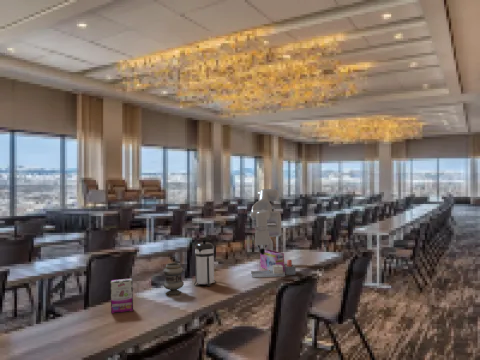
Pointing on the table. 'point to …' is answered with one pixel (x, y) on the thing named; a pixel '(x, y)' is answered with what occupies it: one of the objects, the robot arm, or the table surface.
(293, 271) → the square tube with block
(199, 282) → the coffee press
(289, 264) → the handle peg
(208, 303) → the table surface
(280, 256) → the gum box
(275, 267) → the crate
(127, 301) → the candy bar box
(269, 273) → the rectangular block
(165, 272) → the apothecary jar
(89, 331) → the table surface
